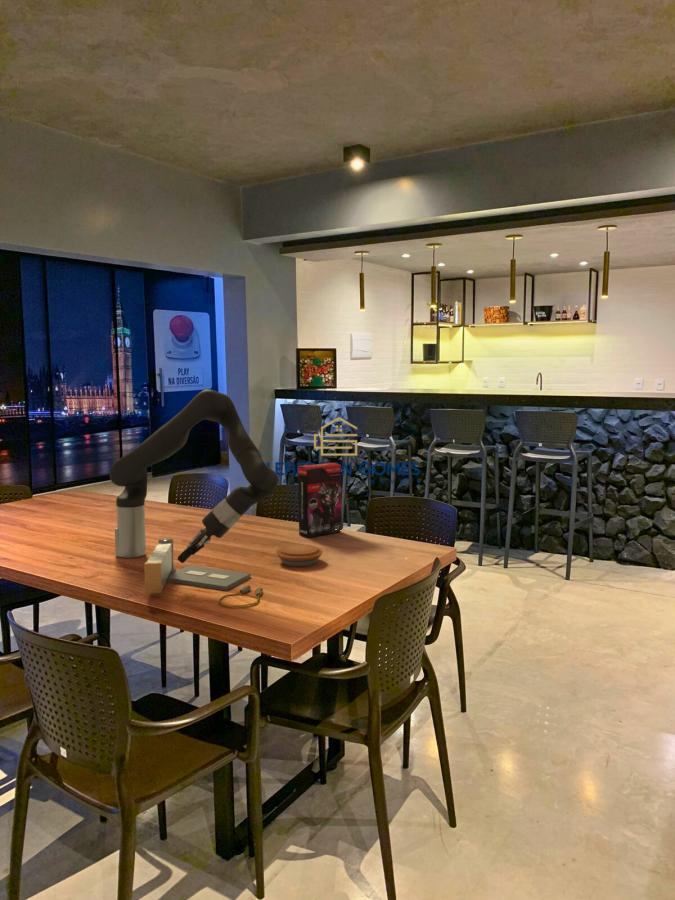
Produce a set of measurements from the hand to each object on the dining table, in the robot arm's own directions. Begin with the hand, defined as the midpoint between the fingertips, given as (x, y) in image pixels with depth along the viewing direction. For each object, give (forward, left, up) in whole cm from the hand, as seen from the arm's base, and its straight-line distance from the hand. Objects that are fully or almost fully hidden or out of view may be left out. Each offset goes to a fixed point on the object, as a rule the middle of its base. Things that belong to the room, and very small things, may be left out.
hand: (179, 560), depth 197 cm
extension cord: (+20, -8, -9) cm, 23 cm away
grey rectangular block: (-7, +4, -7) cm, 10 cm away
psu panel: (+2, +11, -8) cm, 14 cm away
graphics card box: (+35, +71, -9) cm, 80 cm away
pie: (+31, +31, -9) cm, 45 cm away
